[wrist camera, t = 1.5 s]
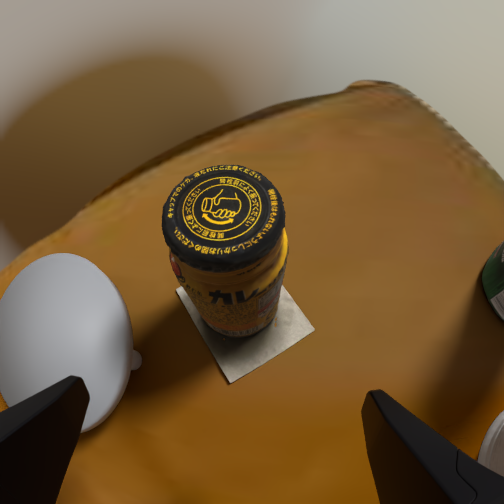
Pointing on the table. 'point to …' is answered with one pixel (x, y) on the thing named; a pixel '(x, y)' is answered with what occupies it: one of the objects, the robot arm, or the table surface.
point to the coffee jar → (495, 280)
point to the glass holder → (494, 447)
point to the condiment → (233, 265)
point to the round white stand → (66, 334)
